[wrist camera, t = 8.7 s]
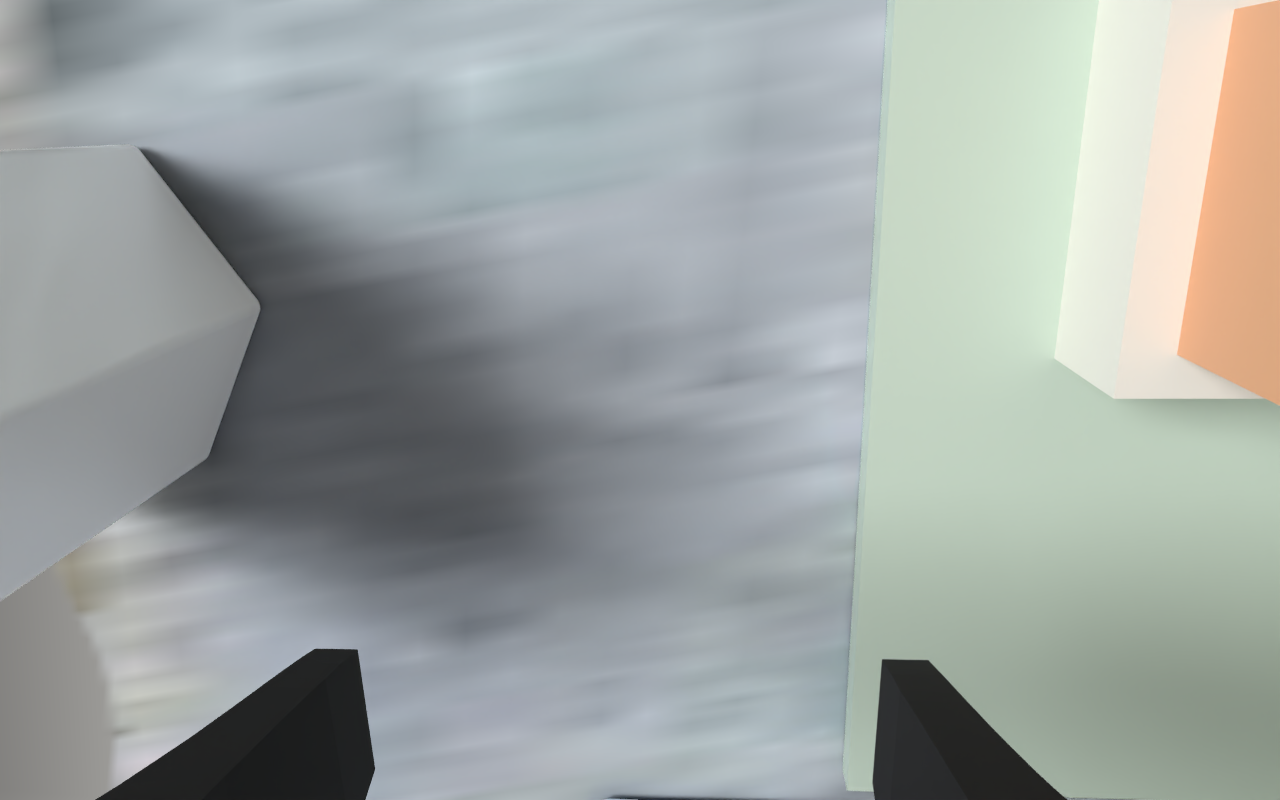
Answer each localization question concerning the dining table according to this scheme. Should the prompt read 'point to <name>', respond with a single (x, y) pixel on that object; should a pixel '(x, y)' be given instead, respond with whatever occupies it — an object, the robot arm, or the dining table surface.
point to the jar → (103, 346)
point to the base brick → (1143, 197)
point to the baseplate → (1044, 452)
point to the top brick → (1241, 218)
